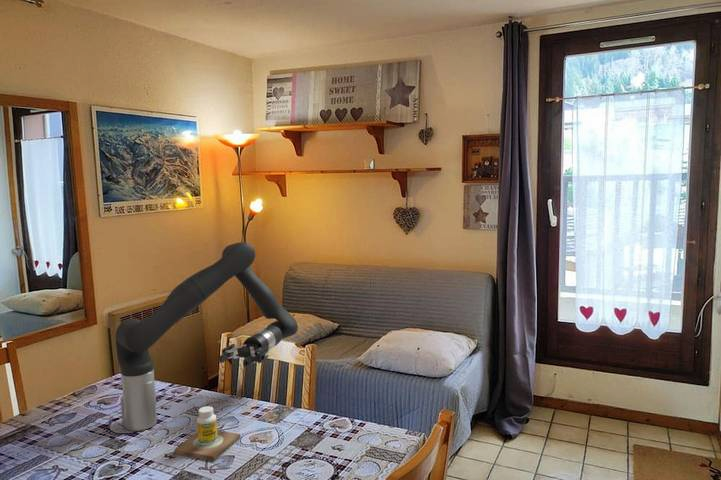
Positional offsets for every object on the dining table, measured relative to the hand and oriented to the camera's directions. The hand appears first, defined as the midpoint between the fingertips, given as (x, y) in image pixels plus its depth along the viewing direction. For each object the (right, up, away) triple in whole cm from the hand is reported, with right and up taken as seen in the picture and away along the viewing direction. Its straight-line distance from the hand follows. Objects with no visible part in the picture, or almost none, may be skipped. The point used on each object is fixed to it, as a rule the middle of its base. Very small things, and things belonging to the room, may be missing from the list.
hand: (232, 361), depth 162 cm
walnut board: (-4, -21, -11) cm, 24 cm away
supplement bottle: (-4, -20, -11) cm, 24 cm away
